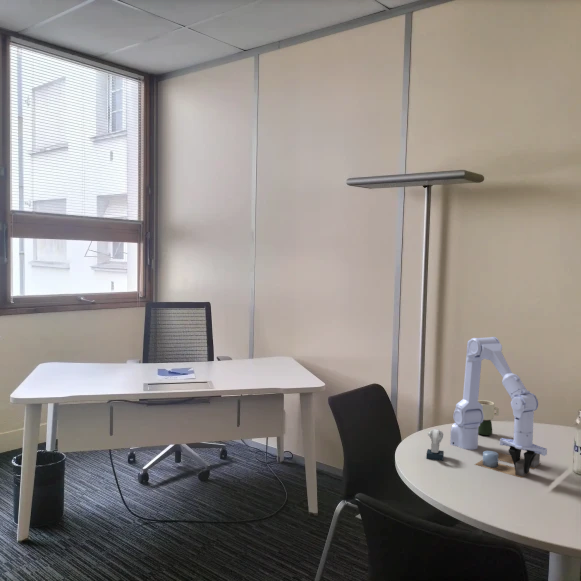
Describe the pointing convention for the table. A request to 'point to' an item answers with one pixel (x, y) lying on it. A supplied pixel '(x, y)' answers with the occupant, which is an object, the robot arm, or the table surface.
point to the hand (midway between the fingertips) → (521, 471)
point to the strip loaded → (509, 468)
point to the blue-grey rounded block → (490, 459)
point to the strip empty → (509, 459)
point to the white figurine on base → (435, 445)
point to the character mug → (487, 417)
